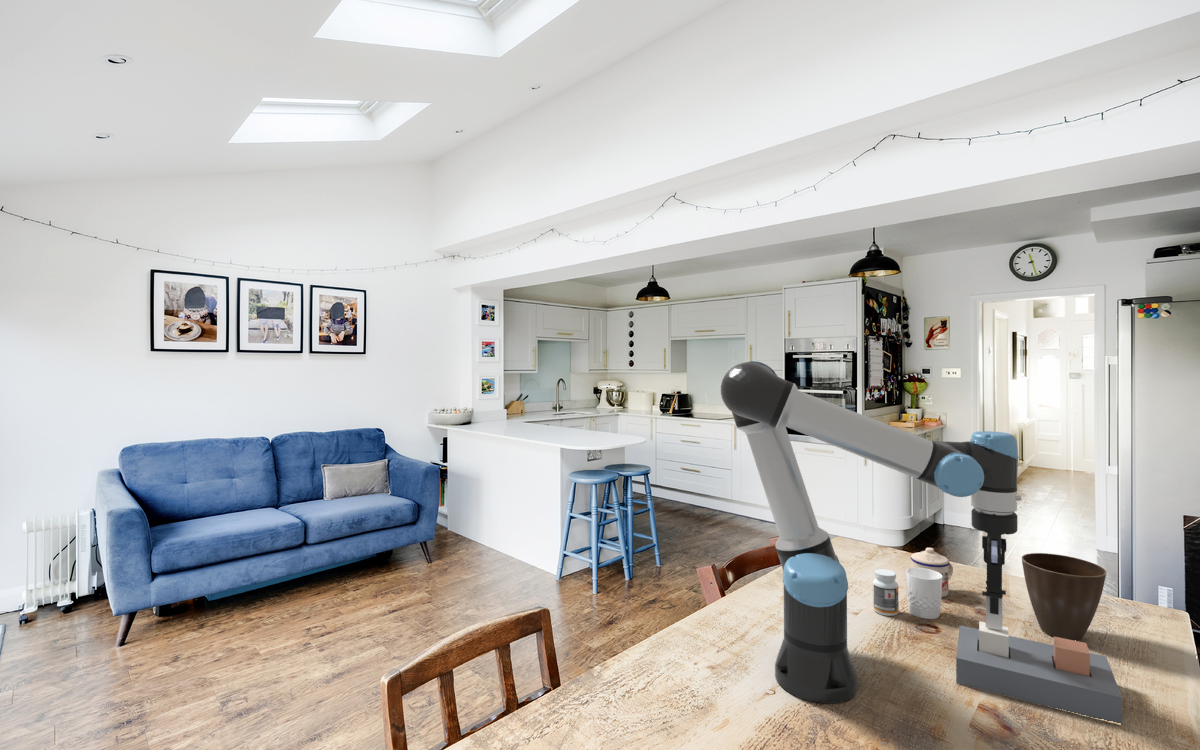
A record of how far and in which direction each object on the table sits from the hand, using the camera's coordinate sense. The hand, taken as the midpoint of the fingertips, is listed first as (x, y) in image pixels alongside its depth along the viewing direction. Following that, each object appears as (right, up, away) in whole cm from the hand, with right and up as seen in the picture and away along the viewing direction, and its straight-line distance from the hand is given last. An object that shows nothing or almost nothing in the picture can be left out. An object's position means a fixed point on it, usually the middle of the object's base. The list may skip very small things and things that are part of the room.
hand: (994, 627), depth 114 cm
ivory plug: (0, -6, 0) cm, 6 cm away
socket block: (+5, -9, -3) cm, 11 cm away
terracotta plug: (+10, -6, -7) cm, 13 cm away
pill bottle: (-7, -9, +28) cm, 31 cm away
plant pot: (+27, -9, +16) cm, 32 cm away
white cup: (+1, -9, +27) cm, 29 cm away
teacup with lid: (+12, -8, +41) cm, 43 cm away
